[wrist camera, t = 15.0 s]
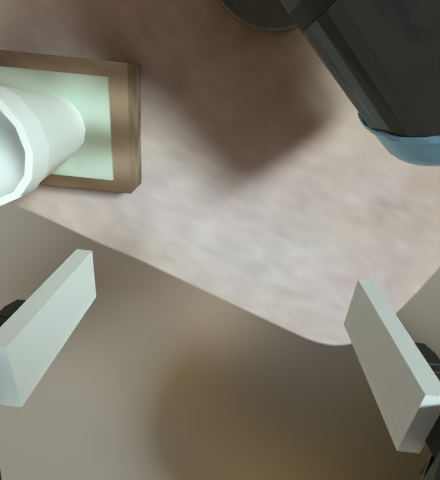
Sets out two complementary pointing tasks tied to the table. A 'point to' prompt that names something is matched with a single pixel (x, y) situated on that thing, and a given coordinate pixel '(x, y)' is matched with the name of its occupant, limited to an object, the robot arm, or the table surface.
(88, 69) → the walnut plinth
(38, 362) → the robot arm
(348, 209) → the table surface
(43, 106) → the foam cup
